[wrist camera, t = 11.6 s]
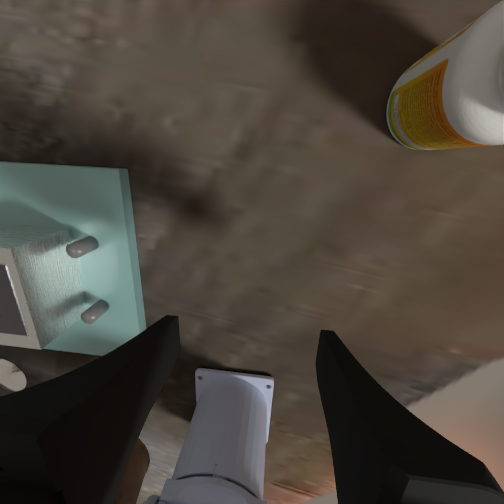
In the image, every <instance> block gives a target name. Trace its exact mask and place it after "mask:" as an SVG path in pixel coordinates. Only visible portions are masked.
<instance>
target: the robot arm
mask: <svg viewBox="0 0 504 504" xmlns="http://www.w3.org/2000/svg"><path fill="white" fill-rule="evenodd" d="M180 349H181V347H180V335H179V322H178V316H170V315H166V316H165V317H163V318H162V319H160V320H159V321H157V322H156V323H154V324H153V325H151V326H150V327H148V328H147V329H146V330H144V331H143V332H141V333H140V334H138V335H137V336H135V337H134V338H132V339H131V340H129V341H127V342H126V343H124V344H123V345H121V346H119V347H118V348H116V349H114V350H113V351H111V352H109V353H107V354H106V355H104V356H102V357H100V358H98V359H96V360H94V361H92V362H90V363H88V364H86V365H84V366H82V367H79V368H77V369H75V370H73V371H71V372H68V373H66V374H64V375H61V376H59V377H56V378H54V379H51V380H49V381H46V382H43V383H41V384H38V385H35V386H32V387H30V388H27V389H23V390H20V391H17V392H14V393H11V394H8V395H5V396H1V397H0V504H113V501H114V499H115V496H116V493H117V491H118V488H119V485H120V483H121V480H122V477H123V475H124V472H125V469H126V467H127V464H128V462H129V459H130V457H131V454H132V452H133V449H134V447H135V444H136V442H137V439H138V437H139V435H140V432H141V430H142V428H143V425H144V423H145V421H146V418H147V416H148V414H149V412H150V410H151V408H152V406H153V405H154V403H155V401H156V399H157V397H158V395H159V393H160V392H161V390H162V388H163V386H164V384H165V382H166V380H167V379H168V377H169V375H170V373H171V371H172V369H173V367H174V365H175V362H176V360H177V357H178V354H179V351H180ZM316 372H317V381H318V387H319V392H320V396H321V401H322V405H323V410H324V414H325V419H326V423H327V428H328V432H329V437H330V443H331V450H332V458H333V465H334V473H335V482H336V490H337V498H338V504H504V492H503V490H502V489H501V487H500V486H499V484H498V483H497V481H496V480H495V478H494V477H493V476H492V474H491V473H490V471H489V470H488V468H487V467H486V466H485V464H484V463H483V462H481V461H480V460H478V459H477V458H475V457H474V456H472V455H470V454H469V453H467V452H466V451H464V450H463V449H461V448H459V447H458V446H456V445H455V444H453V443H452V442H450V441H449V440H447V439H446V438H444V437H443V436H441V435H440V434H439V433H437V432H436V431H435V430H433V429H432V428H430V427H429V426H428V425H426V424H425V423H424V422H422V421H421V420H420V419H418V418H417V417H416V416H415V415H413V414H412V413H411V412H409V410H407V409H406V408H405V407H404V406H402V405H401V404H400V403H399V402H398V401H397V400H395V399H394V398H393V397H392V396H391V395H390V394H389V393H388V392H387V391H386V390H385V389H383V388H382V387H381V386H380V385H379V384H378V383H377V382H376V381H375V380H374V379H373V378H372V377H371V376H370V374H369V373H368V372H367V371H366V370H365V369H364V368H363V367H362V366H361V364H360V363H359V362H358V361H357V360H356V359H355V357H354V356H353V355H352V354H351V353H350V351H349V350H348V349H347V347H346V346H345V345H344V344H343V342H342V341H341V340H340V338H339V337H338V336H337V334H336V333H335V332H334V331H329V330H321V332H320V338H319V345H318V351H317V357H316ZM200 376H201V377H200ZM195 383H196V408H195V411H194V414H193V417H192V420H191V423H190V426H189V429H188V432H187V435H186V438H185V441H184V444H183V447H182V450H181V452H180V455H179V458H178V461H177V464H176V467H175V470H174V473H173V476H172V479H166V482H165V485H164V488H163V490H162V493H161V496H158V495H151V496H150V497H149V498H148V499H147V500H146V501H145V502H144V503H143V504H268V503H267V502H266V501H263V485H264V465H265V445H266V443H267V442H268V434H269V424H270V415H271V406H272V396H273V387H274V379H273V378H272V377H270V376H263V375H254V374H246V373H238V372H230V371H222V370H213V369H205V368H198V369H197V370H196V372H195Z"/></svg>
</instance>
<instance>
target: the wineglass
mask: <svg viewBox="0 0 504 504" xmlns="http://www.w3.org/2000/svg"><path fill="white" fill-rule="evenodd" d="M25 386H26V378H25V375H24V374H23V372H22V371H21V370H20V369H19V368H18V367H17V366H16V365H14V364H13V363H11V362H9V361H7V360H4V359H0V387H2V388H3V389H6V390H9V391H20V390H22V389H24V388H25Z"/></svg>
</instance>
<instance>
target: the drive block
mask: <svg viewBox="0 0 504 504" xmlns="http://www.w3.org/2000/svg"><path fill="white" fill-rule="evenodd" d="M73 242H74V239H73V234H72V229H70V228H57V227H45V226H32V225H19V226H15V227H11V228H7V229H3V230H0V345H7V346H15V347H23V348H31V349H40V350H41V349H43V348H44V347H45V346H46V345H48V344H49V343H50V342H51V341H53V340H54V339H55V338H56V337H58V336H59V335H60V334H61V333H63V332H64V331H65V330H66V329H68V328H69V327H70V326H72V325H73V324H74V323H75V322H77V321H78V320H79V319H80V318H81V314H82V313H83V312H84V311H85V310H87V309H88V306H87V301H86V297H85V292H84V287H83V282H82V277H81V272H80V268H79V263H78V258H76V259H75V258H72V257H70V256H69V255H68V254H67V252H66V246H67V245H68V244H70V243H73Z"/></svg>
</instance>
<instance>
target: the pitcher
mask: <svg viewBox="0 0 504 504" xmlns="http://www.w3.org/2000/svg"><path fill="white" fill-rule="evenodd" d="M149 463H150V458H149V454H148V451H147V449H146V447H145V446H144V444H143V443H142V442H141V441H140V440H139V439H137V442H136V444H135V447H134V449H133V452H132V454H131V457H130V459H129V462H128V464H127V467H126V469H125V472H124V475H123V477H122V480H121V483H120V485H119V488H118V491H117V493H116V496H115V499H114V501H113V504H136V501H137V498H138V495H139V492H140V489H141V485H142V482H143V479H144V476H145V473H146V471H147V469H148V467H149Z"/></svg>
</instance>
